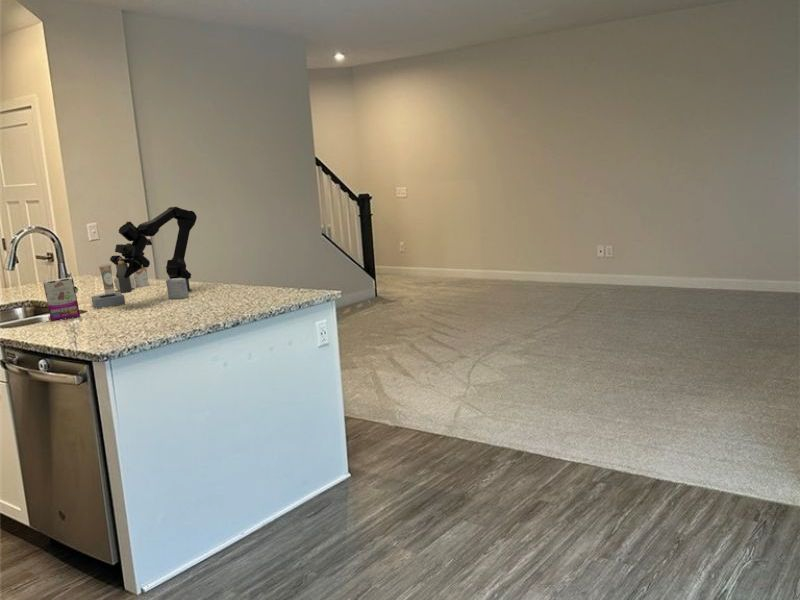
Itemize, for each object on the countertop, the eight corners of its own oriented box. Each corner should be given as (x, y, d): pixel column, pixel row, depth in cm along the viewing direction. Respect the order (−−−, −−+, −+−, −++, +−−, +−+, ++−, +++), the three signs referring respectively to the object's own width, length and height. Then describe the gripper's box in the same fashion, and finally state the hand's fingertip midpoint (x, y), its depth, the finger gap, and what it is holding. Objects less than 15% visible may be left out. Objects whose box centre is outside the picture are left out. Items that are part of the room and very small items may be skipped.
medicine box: (189, 297, 311) (186, 278, 309) (182, 299, 307) (179, 280, 305) (175, 296, 314) (172, 278, 313) (168, 299, 310) (165, 280, 309)
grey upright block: (134, 290, 298) (128, 259, 295) (128, 292, 294) (123, 261, 291) (124, 291, 299) (119, 260, 296) (118, 293, 295) (113, 262, 292)
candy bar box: (79, 314, 291) (72, 276, 288) (80, 316, 287) (73, 277, 284) (50, 319, 286) (42, 280, 283) (50, 321, 282) (43, 282, 279)
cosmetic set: (109, 295, 334) (102, 257, 331) (98, 294, 340) (91, 257, 336) (153, 285, 354) (147, 249, 350) (142, 284, 360) (136, 248, 356)
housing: (120, 300, 317) (119, 292, 316) (125, 304, 307) (123, 295, 306) (92, 305, 311) (91, 296, 310) (96, 309, 301) (94, 300, 300)
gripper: (109, 237, 299) (92, 266, 292) (140, 236, 291) (123, 266, 283) (127, 252, 308) (111, 281, 301) (157, 251, 299) (141, 281, 292)
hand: (121, 277), depth 294 cm, fingers closed on grey upright block, 5 cm apart
